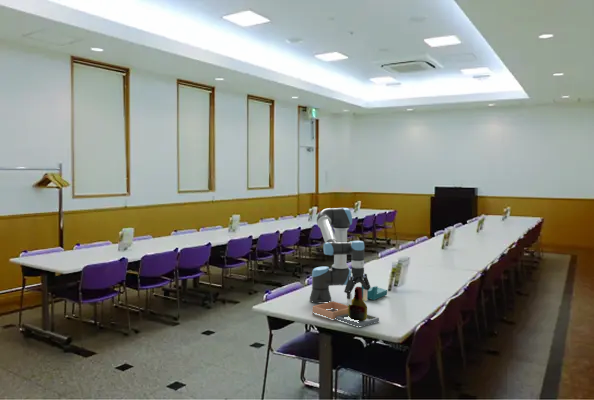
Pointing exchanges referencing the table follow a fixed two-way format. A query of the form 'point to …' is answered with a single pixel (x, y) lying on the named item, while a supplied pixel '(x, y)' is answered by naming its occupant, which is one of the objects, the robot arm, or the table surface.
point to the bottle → (358, 306)
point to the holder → (322, 308)
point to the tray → (368, 320)
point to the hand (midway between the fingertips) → (357, 302)
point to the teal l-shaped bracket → (375, 292)
